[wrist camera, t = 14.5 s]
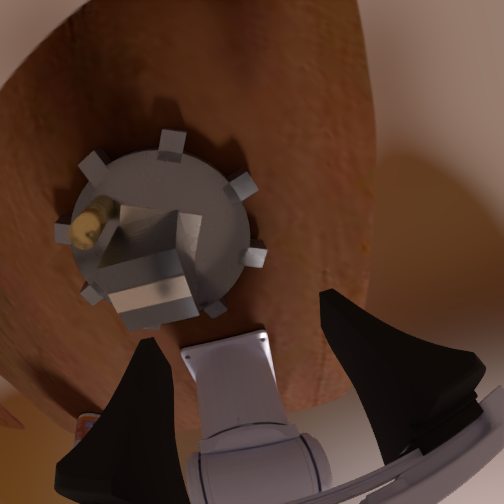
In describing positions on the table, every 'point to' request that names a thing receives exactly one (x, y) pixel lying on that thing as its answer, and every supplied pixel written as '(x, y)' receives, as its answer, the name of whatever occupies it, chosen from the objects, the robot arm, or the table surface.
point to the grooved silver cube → (150, 272)
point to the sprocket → (161, 201)
